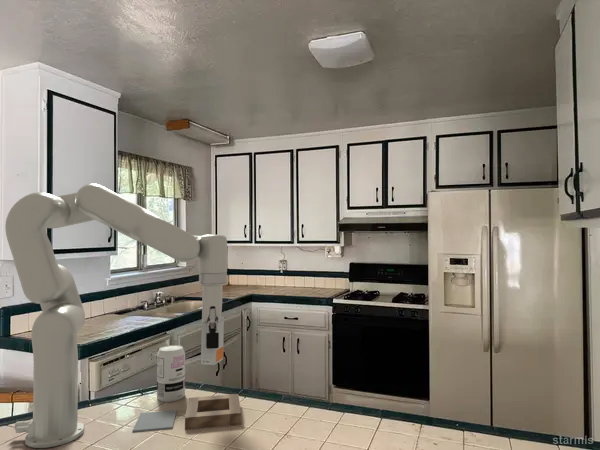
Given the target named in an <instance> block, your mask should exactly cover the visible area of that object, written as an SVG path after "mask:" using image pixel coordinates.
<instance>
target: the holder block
mask: <svg viewBox="0 0 600 450" xmlns="http://www.w3.org/2000/svg"><path fill="white" fill-rule="evenodd" d="M239 395H240V394H238V393H233V394H223V395H221V394H220V395H219V394H218V395H208V396H198V397H197V396H194V397H188V400H187V406H186V410H185V415H184V431H186V430H198V429H210V428H221V427H231V426H241V425H242V424H241V423H242V419H241V418H242V417H241V415H242V413H241V412H242V411H241V404H240V397H239Z"/></svg>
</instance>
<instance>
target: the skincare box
mask: <svg viewBox="0 0 600 450" xmlns="http://www.w3.org/2000/svg"><path fill="white" fill-rule="evenodd" d="M209 321H210V320H209ZM215 321H217V318H216V320H215ZM204 322H205V323H203V322H202V321H201V339H200V341H201V342H200V343H201V344H200V365H206V366H207V365H208V366H215V365H217V364H219V363H220V362H221V361H223V360H224V338H225V337H224V336H225V335H224V334H225V333H224V332H225V330H224V329H225V328H224V326H225V324H224V323H225V317H224V316H221V319H220V322H218V333H219V347H218V348H213V349H207V348H206V333H207V321H204Z"/></svg>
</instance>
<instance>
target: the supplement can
mask: <svg viewBox="0 0 600 450" xmlns="http://www.w3.org/2000/svg"><path fill="white" fill-rule="evenodd" d="M185 395H186V352H185V349H184V347H183V346H182V345H178V344H177V345H176V344H174V345H165V346H161V347H159V349H158V352H157V353H156V398H157V399H158V401H160V402H164V403H165V402H167V403H168V402H169V403H170V402H171V403H173V402H177V401H179V400H181V399H183V397H184V396H185Z"/></svg>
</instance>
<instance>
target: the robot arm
mask: <svg viewBox="0 0 600 450" xmlns="http://www.w3.org/2000/svg"><path fill="white" fill-rule="evenodd" d="M91 221H97V222H98V223H100V224H103V225H104V226H107V227H108V228H110V229H113V230H114V231H117V232H118V233H120V234H122V235H124V236H125V237H126V236H127V237H128V238H130V239H132V240H133V241H137V242H140V243H143V244H144V245H147V246H149V247H150V248H153V249H154V250H156V251H158V252H160V253H163V254H164V255H166V256H167V257H170V258H171V259H174V260H175V261H178V262H180V263H189V262H192V261H197V260H198V261H199V263H198V265H199V266H198V271H199V272H198V273H199V274H198V285H199V286H202V297H201V298H202V301H201V302H202V303H201V308H202V309H201V313H202V314H201V323H202V322H203V323H205V322H204V321H207V333H206V348H207V349H213V348H218V347H219V333H218V322H220V319H221V317H222V310H223V286H226V285H228V273H227V272H228V239H227V237H226V236H225V235H224V234H203V235H193V234H191V233H189V232H188V231H186V230H184V229H182V228H180V227H178V226H176V225H174V224H172V223H171V222H168V221H167V220H165V219H163V218H161V217H159V216H157V215H155V214H154V213H153V212H152V211H150V210H149V209H147V208H144V207H143V206H141V205H139V204H137V203H135V202H134V201H131V200H129V199H128V198H126V197H124V196H122V195H120V194H118V193H116V192H114V191H113V190H111V189H108V188H107V187H105V186H103V185H101V184H98V183H88V184H85V185H83V186H82V187H80V188H79V189H78V191H76V192H74V193H68V194H63V195H57V196H56V195H54V194H51V193H48V192H41V191H39V192H32V193H29V194H26V195H25V196H23V197H22V198H20V199H18V200H17V201H16V202H15V203H14V204H13V205H12V207H11V208H10V210H9V212H8V214H7V215H6V220H5V227H4V228H5V229H4V230H5V236H6V240H7V243H8V247H9V249H10V252H11V255H12V258H13V262H14V266H15V270H16V272H17V275H18V278H19V282H20V285H21V288H22V291H23V294H24V296H25V298H26V299H27V300H28V301H30V302H31V303H33V304H37V305H38V304H39V305H40V308H41V311H42V312H41V313H40V314H39V315H38V316H37V317H36V318H35V320H34V322H33V324H32V328H31V331H30V332H31V336H30V337H31V346H32V353H33V355H32V356H33V372H32V373H33V387H32V388H33V389H32V390H33V394H32V395H33V397H32V399H33V400H32V404H33V405H32V408H33V409H32V411H33V412H32V418H31V419H30V420H20V421H16V422H15V424H14V430H15V433H16V434H20V433H26V436H25V437H24V444H25V446H27V447H29V448H34V449H45V448H46V449H47V448H54V447H57V446H58V447H59V446H62V445H64V444H67V443H70V442H72V441H74V440H77V439H78V438H79V437H81V436H82V435H83V434H84V432H85V424H83V423H82V422H80V421H78V411H79V409H78V408H79V407H78V402H79V400H78V399H79V351H78V333H80V332H81V330H82V329H83V327H84V325H85V322H86V314H85V310H84V306H83V303H82V300H81V297H80V294H79V291H78V287H77V285H76V281H75V278H74V277H73V274H72V273H71V271H70V270H69V269H68V268H67V267H66V266H63V265H62V264H58V261H57V259H56V256H55V253H54V249H53V246H52V243H51V241H50V239H49V236H48V233H47V231H48V230H47V229H59V228H63V227H68V226H74V225H78V224H83V223H87V222H91ZM216 318H217V321H215V320H216ZM209 320H210V321H209Z"/></svg>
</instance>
